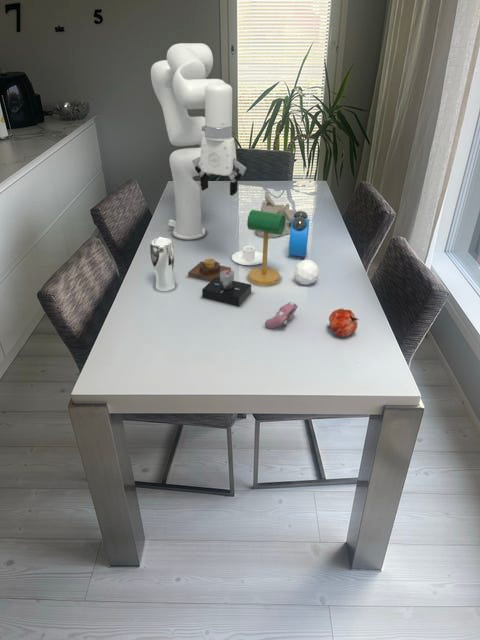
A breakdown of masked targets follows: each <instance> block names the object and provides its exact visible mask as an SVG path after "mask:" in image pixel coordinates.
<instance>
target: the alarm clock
mask: <svg viewBox="0 0 480 640" xmlns="http://www.w3.org/2000/svg"><path fill="white" fill-rule="evenodd" d="M308 215H309V214H308V213H307V212H306V211H304V210H302V209H301V210H296V213H295V214H294V217H295V218H292V222H291V230H290V233H289V242H288V256H293V257H302V260H304V257H306V256H307V250H308V240H309V229H310V218H308V217H309V216H308Z"/></svg>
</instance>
